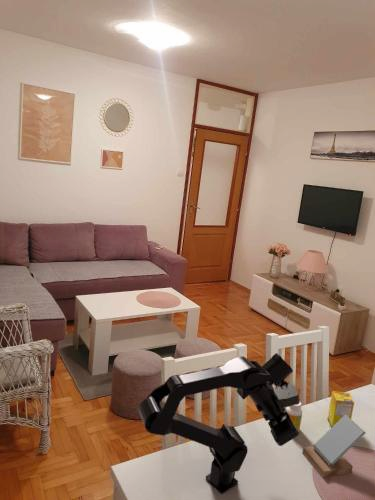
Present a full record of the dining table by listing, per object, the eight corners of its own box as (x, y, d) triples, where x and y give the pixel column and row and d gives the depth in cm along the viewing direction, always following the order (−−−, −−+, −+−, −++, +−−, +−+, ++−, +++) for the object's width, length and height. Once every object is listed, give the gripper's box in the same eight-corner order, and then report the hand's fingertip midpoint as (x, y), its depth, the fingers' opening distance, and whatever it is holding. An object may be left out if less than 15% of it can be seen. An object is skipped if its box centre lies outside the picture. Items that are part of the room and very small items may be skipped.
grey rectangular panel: (329, 465, 112) (364, 431, 114) (312, 445, 120) (345, 414, 121) (331, 467, 113) (366, 433, 114) (314, 447, 120) (346, 416, 121)
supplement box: (343, 420, 139) (349, 392, 137) (349, 431, 133) (354, 402, 131) (326, 418, 139) (332, 390, 137) (331, 429, 134) (336, 400, 131)
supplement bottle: (295, 435, 128) (300, 409, 126) (280, 428, 131) (284, 402, 129) (301, 428, 132) (306, 402, 130) (286, 421, 136) (290, 395, 134)
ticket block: (322, 477, 111) (323, 471, 111) (302, 453, 120) (303, 447, 120) (351, 472, 114) (352, 466, 114) (329, 448, 124) (330, 443, 123)
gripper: (303, 403, 96) (327, 440, 102) (274, 357, 113) (296, 391, 119) (264, 428, 96) (291, 463, 102) (241, 378, 113) (265, 411, 119)
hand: (286, 429), depth 111 cm, fingers closed
